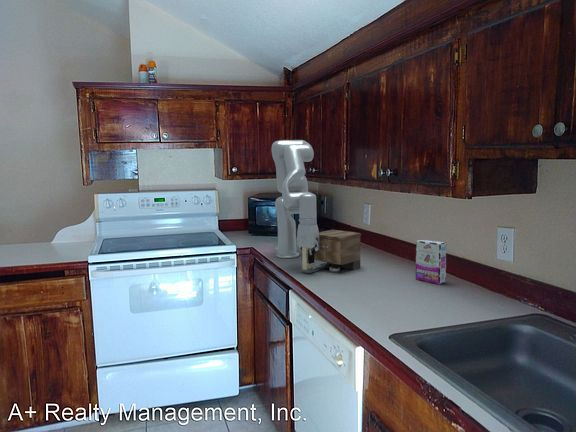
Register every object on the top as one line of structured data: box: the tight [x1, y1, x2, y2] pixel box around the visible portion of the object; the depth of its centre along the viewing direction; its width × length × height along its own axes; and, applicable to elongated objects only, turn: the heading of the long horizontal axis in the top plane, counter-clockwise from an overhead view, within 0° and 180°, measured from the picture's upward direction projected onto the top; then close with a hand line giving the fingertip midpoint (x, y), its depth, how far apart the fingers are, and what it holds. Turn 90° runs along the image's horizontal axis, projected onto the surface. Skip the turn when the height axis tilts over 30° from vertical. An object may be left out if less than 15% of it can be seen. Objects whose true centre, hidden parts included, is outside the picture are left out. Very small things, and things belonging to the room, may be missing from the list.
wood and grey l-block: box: [301, 247, 332, 274], centre depth 195 cm, size 4×16×12 cm, turn 134°
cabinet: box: [314, 229, 362, 271], centre depth 197 cm, size 17×16×16 cm
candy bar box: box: [415, 239, 447, 285], centre depth 173 cm, size 11×5×16 cm, turn 40°
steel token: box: [328, 266, 341, 273], centre depth 194 cm, size 5×5×2 cm
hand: (308, 262), depth 192 cm, fingers closed on wood and grey l-block, 2 cm apart
